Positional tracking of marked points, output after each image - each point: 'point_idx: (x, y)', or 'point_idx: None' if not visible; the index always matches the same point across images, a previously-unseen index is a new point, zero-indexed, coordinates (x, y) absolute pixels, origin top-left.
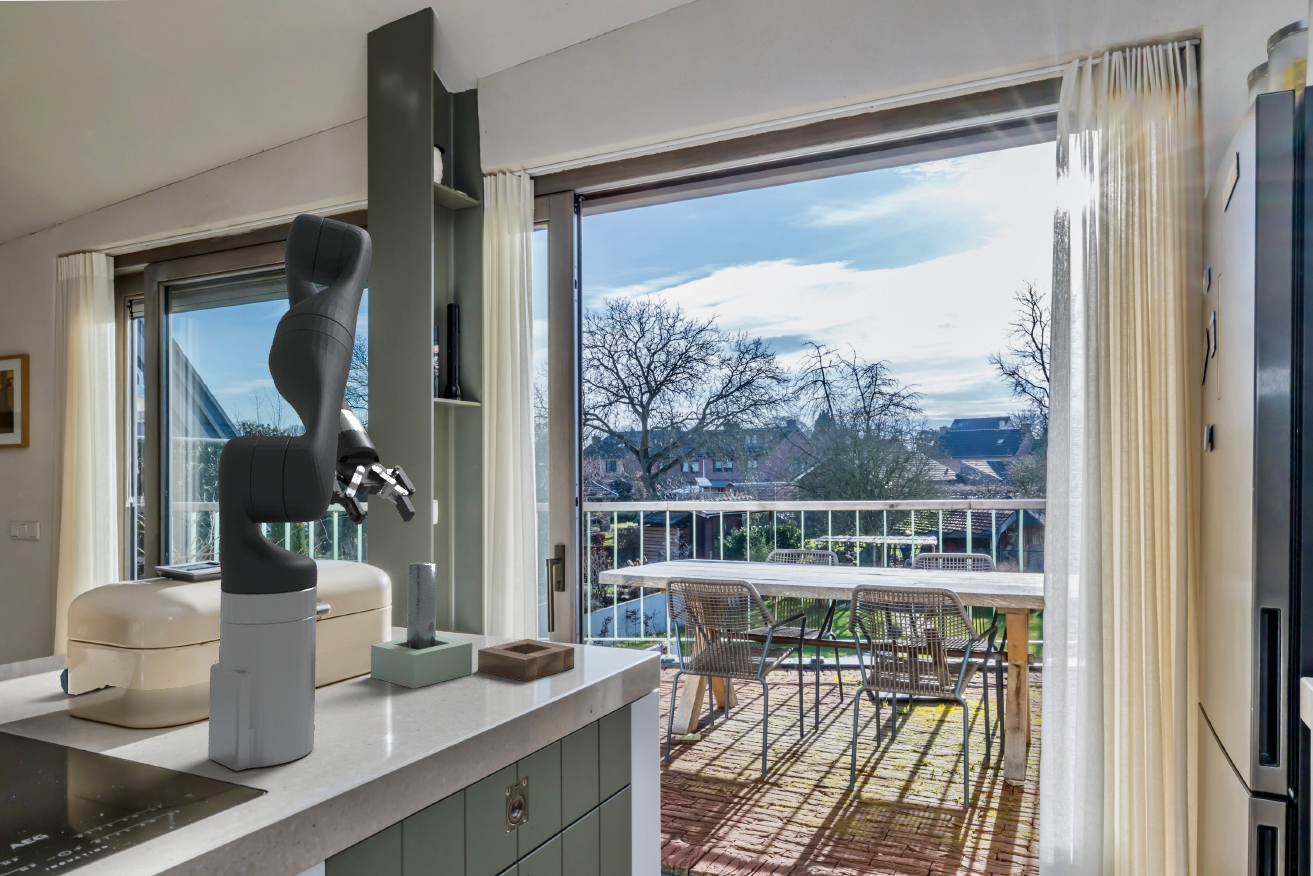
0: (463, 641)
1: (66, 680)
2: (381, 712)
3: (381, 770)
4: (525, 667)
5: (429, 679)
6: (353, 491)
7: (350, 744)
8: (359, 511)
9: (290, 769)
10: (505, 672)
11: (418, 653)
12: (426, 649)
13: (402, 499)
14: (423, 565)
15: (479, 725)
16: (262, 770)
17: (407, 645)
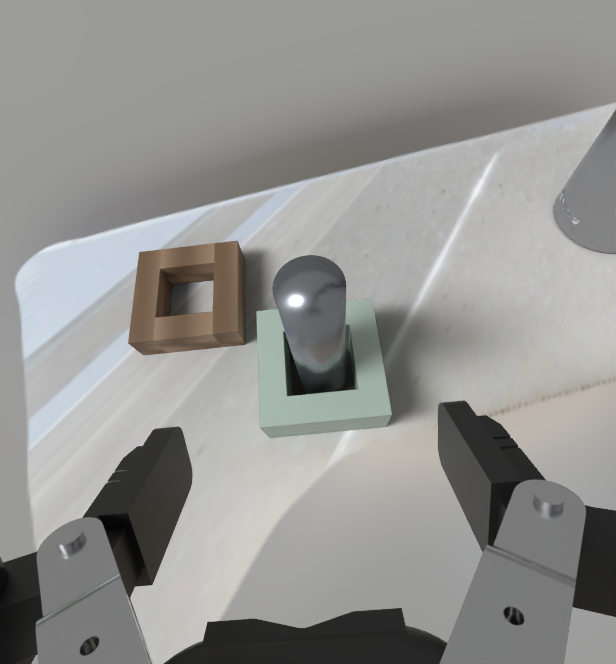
0: (260, 327)
1: None
2: (449, 261)
3: (514, 132)
4: (239, 247)
5: None
6: (522, 520)
7: (517, 194)
8: (473, 414)
9: None
10: (243, 288)
11: (362, 302)
12: None
13: (141, 499)
14: (325, 258)
15: (387, 169)
16: None
17: (344, 365)
